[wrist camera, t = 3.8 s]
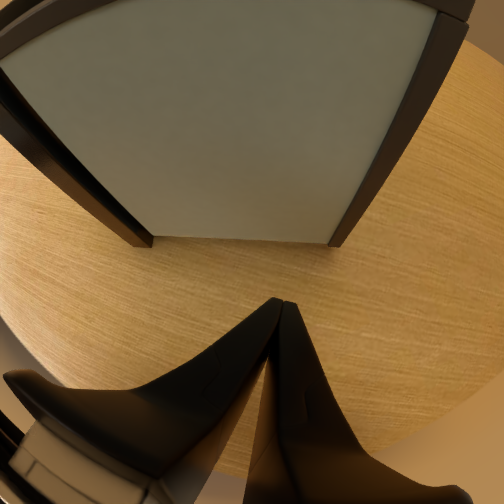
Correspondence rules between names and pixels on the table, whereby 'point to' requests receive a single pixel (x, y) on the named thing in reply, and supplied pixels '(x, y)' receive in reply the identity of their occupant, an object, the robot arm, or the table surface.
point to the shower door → (236, 104)
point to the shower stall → (59, 152)
